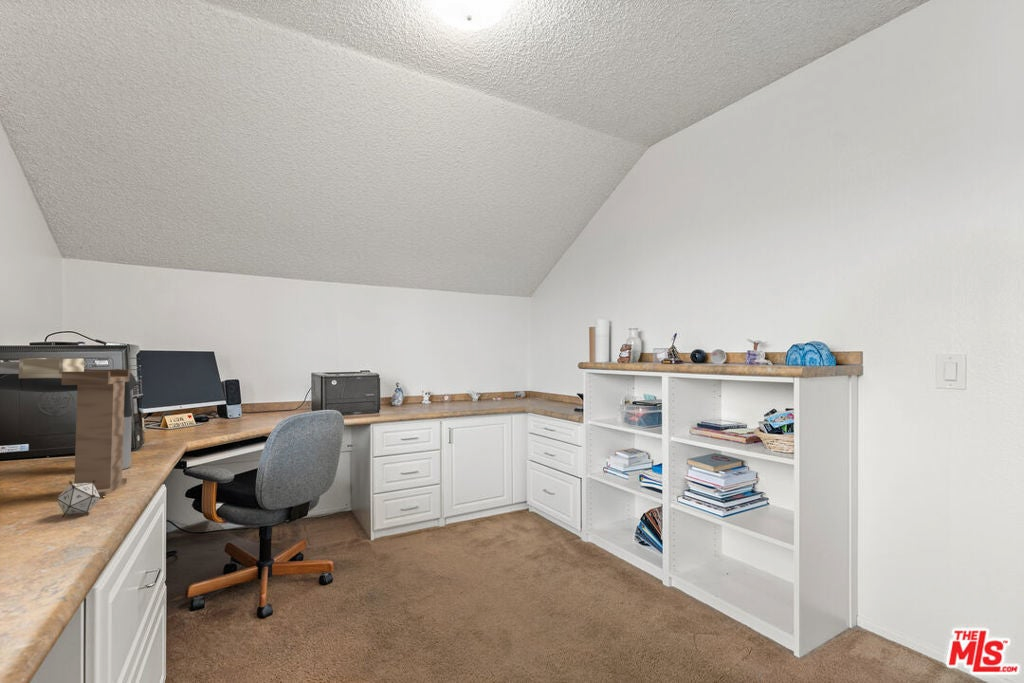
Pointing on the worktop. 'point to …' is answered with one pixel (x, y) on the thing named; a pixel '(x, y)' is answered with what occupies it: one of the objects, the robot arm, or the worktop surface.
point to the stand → (99, 427)
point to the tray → (42, 367)
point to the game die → (78, 498)
